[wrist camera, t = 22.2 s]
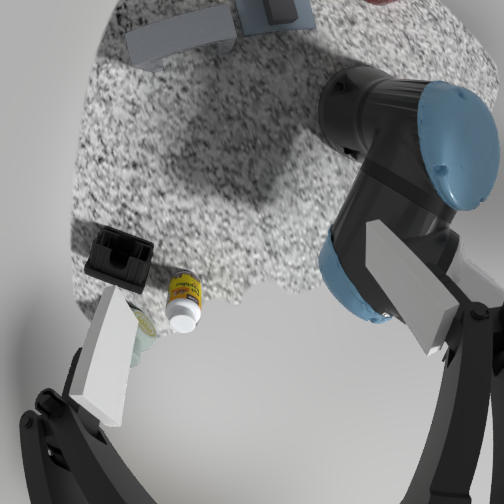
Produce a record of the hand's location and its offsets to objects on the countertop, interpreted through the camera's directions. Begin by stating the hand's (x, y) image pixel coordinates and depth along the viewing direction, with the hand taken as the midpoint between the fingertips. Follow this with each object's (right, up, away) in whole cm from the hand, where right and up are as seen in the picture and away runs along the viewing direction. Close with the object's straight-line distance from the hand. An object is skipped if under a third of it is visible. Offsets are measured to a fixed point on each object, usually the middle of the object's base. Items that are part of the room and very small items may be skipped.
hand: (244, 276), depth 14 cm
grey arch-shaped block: (-8, +28, +16) cm, 33 cm away
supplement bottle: (-11, -4, +35) cm, 37 cm away
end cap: (-21, +1, +30) cm, 37 cm away
